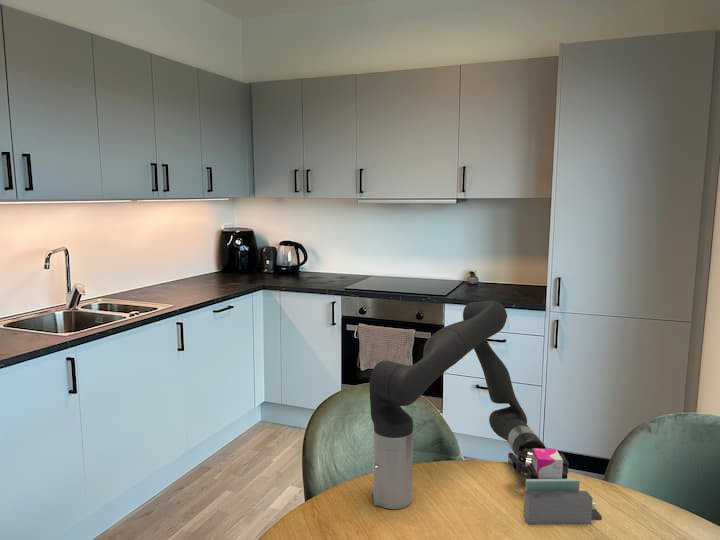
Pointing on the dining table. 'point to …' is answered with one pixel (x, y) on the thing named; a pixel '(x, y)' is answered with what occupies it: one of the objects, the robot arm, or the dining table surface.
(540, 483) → the gauge plate
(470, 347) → the robot arm
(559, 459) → the supplement box
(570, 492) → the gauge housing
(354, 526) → the dining table surface
